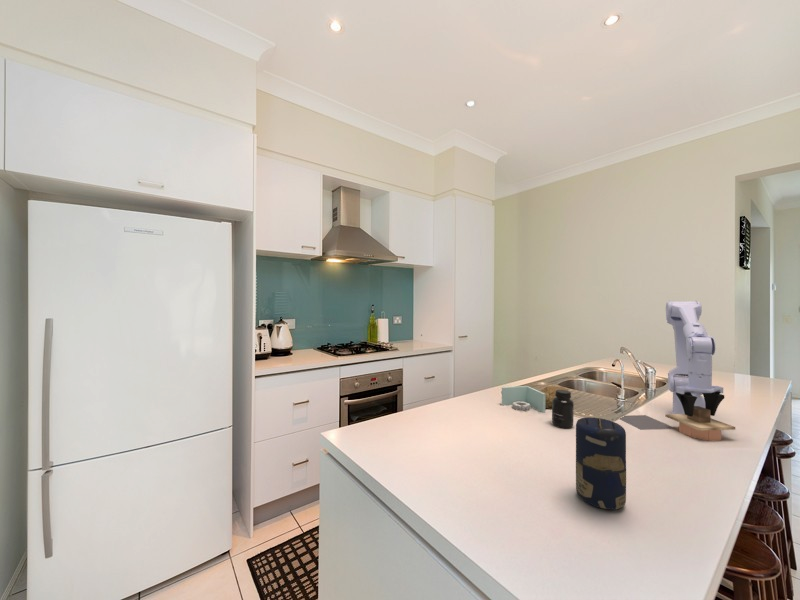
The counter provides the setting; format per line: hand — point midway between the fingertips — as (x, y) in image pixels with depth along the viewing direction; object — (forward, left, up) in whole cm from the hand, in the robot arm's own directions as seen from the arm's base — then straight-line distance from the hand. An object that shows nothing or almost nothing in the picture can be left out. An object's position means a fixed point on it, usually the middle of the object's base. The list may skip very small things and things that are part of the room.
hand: (699, 415), depth 108 cm
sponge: (+30, -36, -7) cm, 47 cm away
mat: (+10, -11, -7) cm, 16 cm away
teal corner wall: (+46, -29, -7) cm, 55 cm away
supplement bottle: (+40, -11, -7) cm, 42 cm away
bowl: (0, 0, -7) cm, 7 cm away
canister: (+56, +31, -7) cm, 64 cm away
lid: (0, 0, -3) cm, 3 cm away
